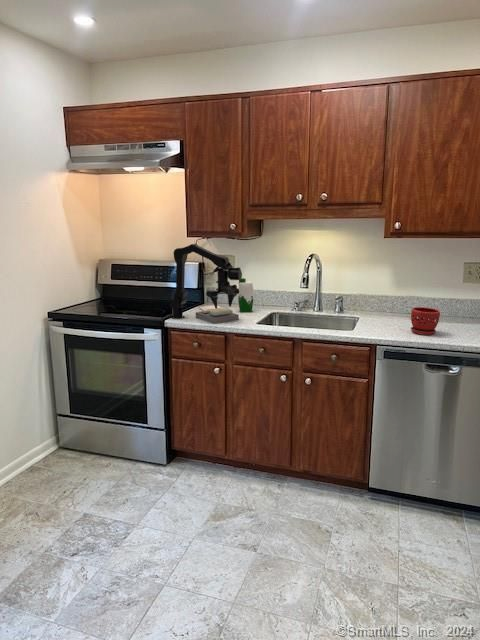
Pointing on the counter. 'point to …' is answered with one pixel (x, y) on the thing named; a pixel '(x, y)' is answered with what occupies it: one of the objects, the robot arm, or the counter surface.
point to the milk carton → (245, 295)
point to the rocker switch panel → (217, 317)
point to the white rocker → (208, 308)
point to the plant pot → (424, 320)
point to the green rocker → (220, 311)
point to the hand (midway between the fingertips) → (223, 307)
